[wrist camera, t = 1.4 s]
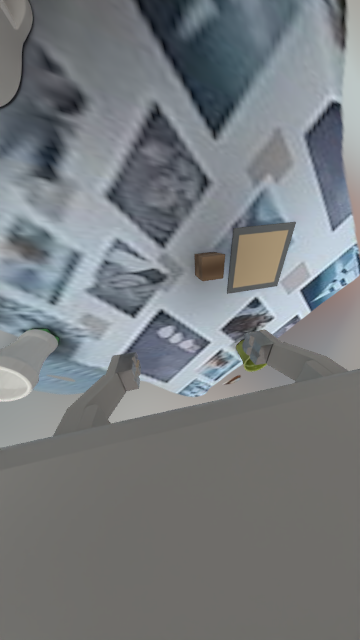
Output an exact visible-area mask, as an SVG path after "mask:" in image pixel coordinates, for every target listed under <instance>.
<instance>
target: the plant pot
mask: <svg viewBox="0 0 360 640" xmlns="http://www.w3.org/2000/svg"><path fill="white" fill-rule="evenodd" d="M243 341H244V340H242V341H240V342H239V344H238V345H237V346H236V349H237V351H238V353H239V355H240V357H241V359H242V361H243V364H244V368H245V370H247V371H250V372H252V371H257V370H259V369H261V368H263V367H264V366H266V365H267V363H266V364H260V365H255V364H254V363H253V362H252V360H251V359H250V356H249V355H247V354H246V353H245V352H244V350H243V347H242V344H243Z"/></svg>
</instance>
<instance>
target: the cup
mask: <svg viewBox="0 0 360 640" xmlns="http://www.w3.org/2000/svg"><path fill="white" fill-rule="evenodd" d="M58 342H59V338H58V337H57V336H54V335H52V334H51V333H50V331H49V330H48V329H30V330H28V331H26V332H25V333H23V334H22V335H21V336H20V337H19V338H18V339H17V340H16V341H14V342H13V343H12V344H10V345H8V346H6V347H4V348H2V349H0V401H12V400H17V399H20V398H23V397H25V396H27V395H28V394H29V393H30V392H31V391H32V390H33V388H34V387H35V386H36V384H37V383H38V381H39V373H40V370H41V368H42V365H43V363H44V361H45V360H46V358H47V357H48V355H49V354H51V353H52V352H53V351H54V350H55V349H56V348H57V346H58Z"/></svg>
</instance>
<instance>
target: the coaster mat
mask: <svg viewBox="0 0 360 640" xmlns="http://www.w3.org/2000/svg"><path fill="white" fill-rule="evenodd" d="M295 224H296V222H290V223H281V224H271V225H261V226H252V227H242V228H234V229H233V239H232V249H231V259H230V269H229V278H228V288H227V294H228V293H235V292H241V291H248V290H254V289H261V288H267V287H274V286H277V284H278V281H279V277H280V274H281V271H282V267H283V264H284V261H285V257H286V254H287V251H288V247H289V244H290V241H291V237H292V234H293V231H294V227H295Z"/></svg>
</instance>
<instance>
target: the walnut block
mask: <svg viewBox="0 0 360 640" xmlns="http://www.w3.org/2000/svg"><path fill="white" fill-rule="evenodd" d="M224 262H225V254H221V253H217V252H209V253H201V254H195V275H196V276H197V277H198V278H199V279H200V280H201V281H208V280H215V279H222V278H223V274H224Z"/></svg>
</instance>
